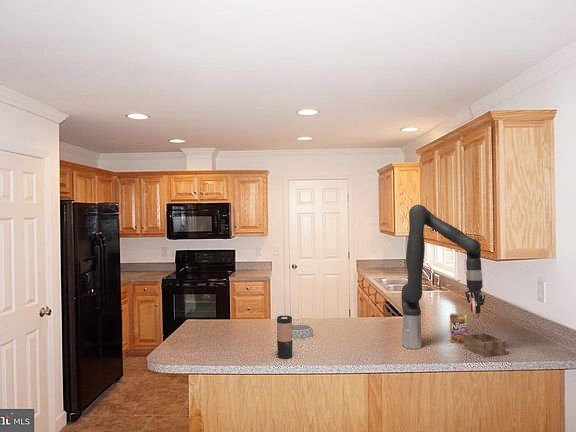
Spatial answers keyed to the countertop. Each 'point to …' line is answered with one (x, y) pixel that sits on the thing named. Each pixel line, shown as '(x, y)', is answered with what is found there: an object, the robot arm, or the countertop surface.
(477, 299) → the peg
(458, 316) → the candy box
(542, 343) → the countertop surface
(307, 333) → the dog bowl
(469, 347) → the open box
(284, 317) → the travel mug
